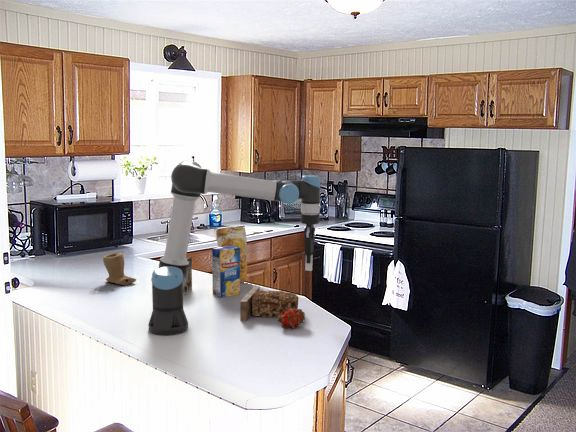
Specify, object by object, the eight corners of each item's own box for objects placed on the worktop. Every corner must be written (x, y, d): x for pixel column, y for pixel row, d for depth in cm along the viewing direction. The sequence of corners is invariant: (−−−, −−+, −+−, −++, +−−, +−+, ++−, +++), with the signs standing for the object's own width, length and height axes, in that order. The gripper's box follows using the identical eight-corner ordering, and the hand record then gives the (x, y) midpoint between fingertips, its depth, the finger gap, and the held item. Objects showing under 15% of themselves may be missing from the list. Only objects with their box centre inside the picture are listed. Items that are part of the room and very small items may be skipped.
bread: (251, 317, 255) (251, 294, 254) (255, 310, 266) (255, 287, 264) (296, 319, 253) (296, 295, 252) (298, 311, 264) (299, 289, 262)
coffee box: (185, 295, 287) (185, 261, 285) (172, 294, 289) (172, 260, 286) (192, 289, 296) (192, 257, 294) (180, 289, 298) (179, 256, 295)
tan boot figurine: (99, 282, 309) (98, 253, 307) (120, 278, 317) (119, 249, 315) (115, 288, 298) (114, 257, 296) (137, 283, 307) (136, 254, 305)
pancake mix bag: (212, 283, 308) (212, 228, 304) (244, 278, 320) (244, 224, 316) (220, 286, 303) (219, 230, 299) (252, 280, 315) (252, 226, 311)
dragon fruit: (307, 329, 246) (280, 337, 241) (298, 312, 251) (271, 320, 246) (311, 316, 240) (283, 325, 235) (302, 299, 245) (274, 307, 240)
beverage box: (212, 294, 289) (212, 248, 286) (232, 290, 296) (231, 245, 293) (220, 297, 284) (220, 250, 281) (240, 293, 291) (240, 247, 287)
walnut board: (246, 320, 250) (246, 301, 249) (240, 320, 251) (240, 301, 250) (259, 304, 274) (259, 286, 273) (254, 303, 274) (254, 286, 273)
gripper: (317, 216, 244) (315, 274, 247) (321, 211, 256) (319, 267, 260) (298, 215, 245) (297, 273, 249) (303, 211, 258) (302, 266, 261)
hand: (308, 270), depth 254 cm, fingers closed
